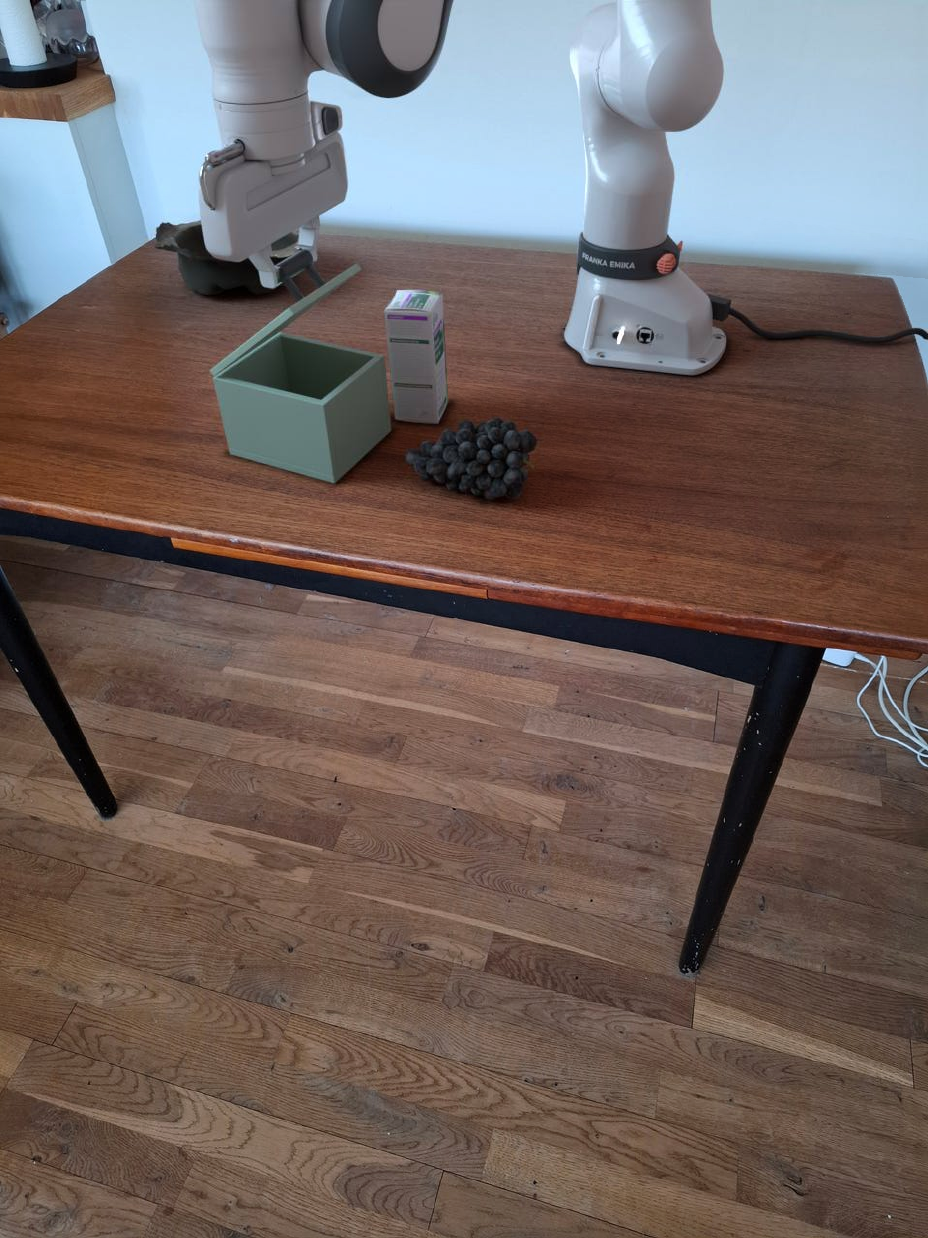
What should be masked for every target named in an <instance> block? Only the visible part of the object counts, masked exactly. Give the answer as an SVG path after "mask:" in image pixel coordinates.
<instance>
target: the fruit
mask: <svg viewBox="0 0 928 1238" xmlns="http://www.w3.org/2000/svg"><path fill="white" fill-rule="evenodd" d="M457 430H458V431H455V430H454V429H451V428H447V429H444V430H443V431H442V432H441V433H440V437H439V438H438V439H437V441H436V443H435V442H434V441H432V440H424V441H423V442H421V445H420V446H419V449H416V448H412V449H409V450H407V452H406V453H405V462H406V463H407V464H408V465H409V466H411V467H413V470H414V471H415V473H416V474H418V476H419V479H421V480H422V481H423V482H424V483H428V482H432V481H433V480H434V481H436V482H437V483H438V484H444V483H445V485H446V488H447V490H448V491H450V492H457V491H458V490H460V491H461V492H462V493H467V494H468V493H470V492H471V493H472V494H473V495H475V496H477V497H479V496H482V497H484V498H485V500H488V501H495V500H496V499H497V498H502V497H504V496H505V497H506V498H507V499H509V500H516V499H518V498H519V497H520V496H521V494H522V492H523V489H524V487H525V482H527V480H528V476H529V472H528V470H527V468H526V467H525V466H528V467H529V468H531V469H534V468H535V467H534V465H533V463H531V462H530V459H531V458H530V454H529V453H532V452H533V451H534V450H535V448H536V446H537V442H538V438H537V436H536V435H534V433H533V432H532V431H531V430H528V429H522V430H520V431H518V428H517V425H516V423H515V422H513V421H511V420H504V418H502V417H498V416H495V417H493V418H492V419H490V420H489V421H481V422H479V423H478V424H477V425H476V426H475V423H474V422H473V421H472V420H470V419H463V420H461V421H460V422H459V423H458V426H457Z"/></svg>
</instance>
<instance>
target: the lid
mask: <svg viewBox="0 0 928 1238" xmlns="http://www.w3.org/2000/svg"><path fill="white" fill-rule="evenodd" d="M275 266H279V267H281V271H282V277H283V282H282V283H284V286H285V288H286V290H288V293H290V295H291V296H292V297H293V299H294V301H295V303H294V304H293V305H291V306H289V307H288V308H286V309H285V310H284V311H283V312H281V313H280V314H279V315H278V316H277V317H275V318H274V319H272V320H271V321H270V322H269V323H268V324H266V325H265V326H264V327H262V328H261V329H260V330H259V331H257V332H256V333H255V334H254V335H252V336H251V337H250V338H249V339H248V340H246V341H244V343H242V344H241V345H240V346H239V347H237V348H235V350H234V351H232V352H231V353H229V354H228V355H227V356H226V357H224V358H223V359H222V360H221V361H220V362H218V363H217V364H216V365H214V366H213V367H212V368H211V369H209V372H210V374H211V375H212V376H213V377H215V376H216V375H218V374H219V373H220V372H222V371H223V370H225V369H226V368H228V367H229V366H231V365H232V364H233V363H235V362H236V361H238V360H239V359H241V358H242V357H244V356H245V355H247V354H248V353H250V352H251V351H253V350H254V349H256V348H257V347H258V346H260V345H261V344H263V343H264V342H266V341H267V340H269V339H270V338H272V337H273V336H275V335H276V334H278V333H279V332H282V331H283V330H284V329H286V328H287V327H288V326H290V325H291V324H292V323H294V322H295V321H297V320H298V319H299V318H300V317H301V316H303V315H304V314H306V313H307V312H308V311H309V310H311V309H312V308H313V307H314V306H316V305H317V304H318V303H320V302H321V301H322V300H324V299H325V298H326V297H327V296H329V295H330V294H332V293H333V292H334V291H335V290H337V289H338V288H339V287H341V286H342V285H344V284H345V283H346V282H347V281H349V280H350V279H351V278H352V277H354V276H355V275H357V274H358V273H359V272H360V271H362V270H361V269H362V268H361V267H360V265H359V264H358V263H357V262H356V263H355V264H353V265H352V266H351V267H349V268H346V270H344V271H342V272H341V273H340V274H338V275H336V276H335V277H333V278H332V279H330V280H329V281H327V282H325V281H324V279H323V278H322V276H321V275H320V273H319V272H318V270H317V269H316V268H315V266H314V263H313V256H312V254H311V253H310V252H309V251H308V250H306V249H302V250H300V251H299V252H297V253H295V254H294V255H292V256H290V257H289V258H287V259H285V260H283V261H282V262H280V263H278V264H277V265H275ZM304 271H306V272H307V274H308V275H309V277H310V279H311V280H312V282H313V283H314V284H315V286H316V287H317V289H315V290H313V291H312V292H311V293H309V294H308V295H306V296H304V295H303V293H302V292H301V291H300V289H299V288H298V286H297V285H296V284H295V282H294V280H293V279H292V278H294V277H295V276H297V275H298V274H300V273H302V272H304Z"/></svg>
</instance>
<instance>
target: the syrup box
mask: <svg viewBox="0 0 928 1238" xmlns="http://www.w3.org/2000/svg"><path fill="white" fill-rule="evenodd" d="M383 313H384V314H383V315H384V323H385V324H384V325H385V335H386V342H387V355H388V364H389V365H388V366H389V376H390V384H391V395H392V405H393V415H394V419H395V421H402V422H410V423H421V424H435V425H438V424H439V422H440V420H441V418H442V416H443V414H444V412H445V410H446V408H447V406H448V403H449V388H448V371H447V351H446V336H445V335H446V333H445V317H444V316H445V315H444V299H443V292H439V291H433V290H424V289H397V290H396V292H395V295H394V296H393V297H392V298H391V300H390V301H389V302H388V303H387V306H386V307H385V309H384V310H383Z"/></svg>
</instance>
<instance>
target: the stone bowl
mask: <svg viewBox="0 0 928 1238" xmlns="http://www.w3.org/2000/svg"><path fill="white" fill-rule="evenodd" d="M299 230H300V227H299V228H297V229H296V230H294V231H292V232H291V233H289V234H287V235H285V236H284V237H282V238H280V239H279V240H277V241H275V242H273V243H272V244H271V248H272V254H271V255H269V257H270V259H271V261H272V262H273V264H274V266H275V265H277V264H278V263H280V262H282V261H283V260H285V259H287V258H289V257H290V256H292V255H294V254H295V249H294V247H296V246H297V245H298V242H299ZM155 239H156V242H157V243H155V245H153V248H154V249H158V250H165V251H168V252H172V253H177V261H178V262H177V263H178V264H177V265H178V270H179V273H180V276H181V278H182V280H183V282H184V284H185V285H186V287H187V288H189V290H190V291H191V292H193V293H194V294H202V295H205V296H211V295H217V294H220V293H223V292H225V291H226V290H231V289H234V288H236V287H240V286H244V287H245V288H246V289H247V290H248V291H249V292H251V293H253V294H254V295H255V294H256V295H262V294H270V293H272V292H274V291H275V290H276V289H278V288H279V287H283V286H285V285H284V283H281V284H279V285H278V286H276V287H275V288H273V289H272V288H267V287H264V286H263V285H262V284H261V281H260V276H259V270H258V269H257V268H256V267H255V266H254V264H253V263H252V262H251V260H250V259H249V258H246V259H244V260H243V261H240V262H233V261H226V260H221V259H217V258H214V257H213V256H212V255H211V254H210V253H209V252H208V250H207V249H206V246H205V242H204V236H203V230H202V223H201V219H200V220H197V221H191V222H187V223H185V224H183V225H177V224H173V223H171V222H170V221H169V222H168V221H167V222H163V221H162V222H161V223H160V224H159V225H158V226H157V227H155Z"/></svg>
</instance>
